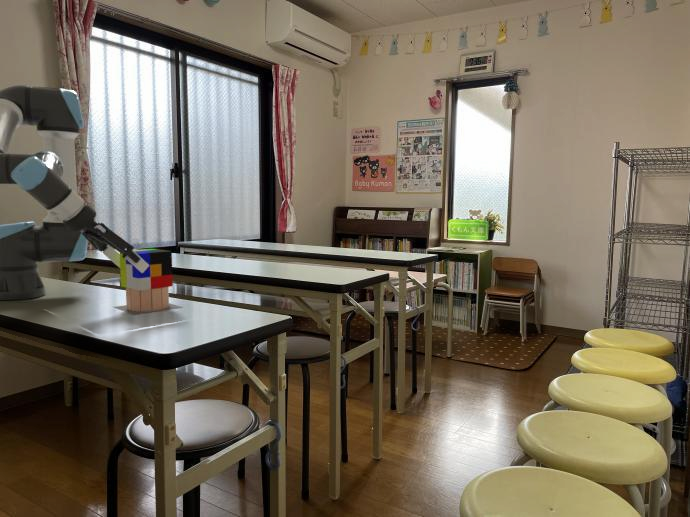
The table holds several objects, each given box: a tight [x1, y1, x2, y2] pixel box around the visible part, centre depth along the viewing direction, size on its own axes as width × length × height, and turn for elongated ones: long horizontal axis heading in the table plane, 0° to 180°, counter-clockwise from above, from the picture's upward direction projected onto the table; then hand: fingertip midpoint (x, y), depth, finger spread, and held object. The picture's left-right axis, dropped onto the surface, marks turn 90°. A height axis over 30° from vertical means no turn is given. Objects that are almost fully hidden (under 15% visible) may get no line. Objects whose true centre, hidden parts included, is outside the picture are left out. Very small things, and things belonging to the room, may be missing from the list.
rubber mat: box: [113, 302, 184, 316], centre depth 143 cm, size 14×14×1 cm
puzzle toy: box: [119, 248, 174, 291], centre depth 142 cm, size 10×10×10 cm
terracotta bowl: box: [125, 287, 170, 312], centre depth 143 cm, size 11×11×6 cm
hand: (134, 266), depth 139 cm, fingers open, 13 cm apart
